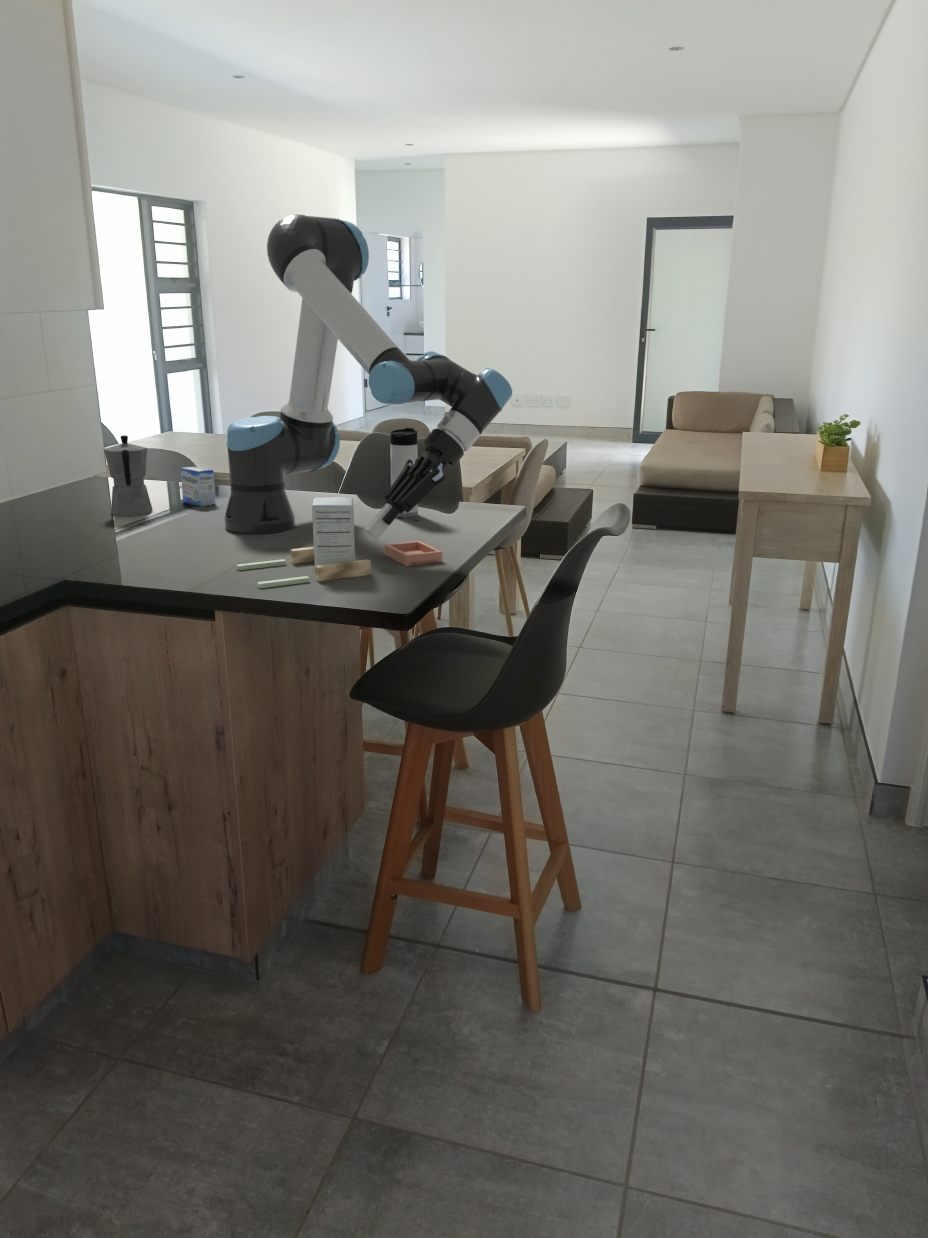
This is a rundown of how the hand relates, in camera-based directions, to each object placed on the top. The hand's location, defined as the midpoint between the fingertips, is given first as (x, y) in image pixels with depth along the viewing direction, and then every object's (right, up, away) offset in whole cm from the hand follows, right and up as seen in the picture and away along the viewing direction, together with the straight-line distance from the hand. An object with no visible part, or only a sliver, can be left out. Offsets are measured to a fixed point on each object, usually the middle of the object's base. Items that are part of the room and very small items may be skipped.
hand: (371, 534), depth 173 cm
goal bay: (-17, -8, -7) cm, 20 cm away
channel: (-6, -6, -2) cm, 9 cm away
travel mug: (+4, +8, +44) cm, 45 cm away
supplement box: (-6, -6, -2) cm, 9 cm away
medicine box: (-48, +13, +56) cm, 75 cm away
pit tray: (+8, -4, +6) cm, 10 cm away
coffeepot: (-60, +9, +43) cm, 75 cm away
